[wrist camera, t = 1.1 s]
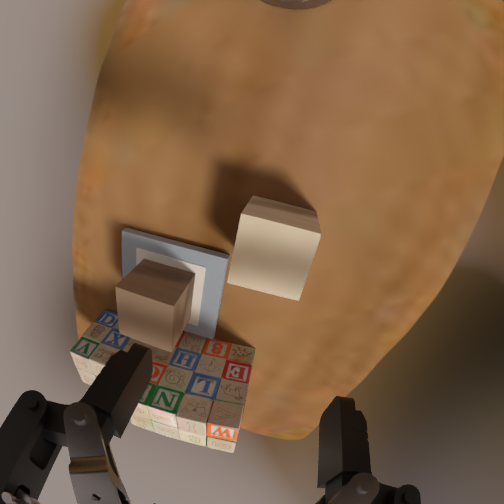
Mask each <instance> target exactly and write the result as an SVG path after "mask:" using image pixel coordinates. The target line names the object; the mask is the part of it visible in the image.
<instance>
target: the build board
mask: <svg viewBox="0 0 504 504" xmlns="http://www.w3.org/2000/svg"><path fill="white" fill-rule="evenodd" d="M229 257H230V255H228V254H225V253H221V252H217V251H213V250H209V249H205V248H202V247H198V246H194V245H190V244H186V243H183V242H179V241H175V240H171V239H167V238H164V237H160V236H156V235H152V234H149V233H145V232H141V231H137V230H134V229H130V228H125V229H124V230H122V279H123V278H124V277H125V276H126V275H127V274H128V273H129V272H131V271H132V270H133V269H134V268H135V267H136V266H137V265H138V264H139V263H140V262H141V261H142V260H143V259H147V260H151V261H154V262H158V263H161V264H164V265H168V266H171V267H175V268H178V269H182V270H185V271H189V272H192V273H195V281H194V289H193V298H192V307H191V316H190V319H189V321H188V323H187V325H186V327H185V328H184V330H183V331H186V332H189V333H193V334H196V335H199V336H203V337H206V338H209V339H213V338H214V336H215V332H216V326H217V321H218V315H219V310H220V304H221V299H222V294H223V288H224V283H225V278H226V272H227V267H228V262H229Z"/></svg>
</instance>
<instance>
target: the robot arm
mask: <svg viewBox="0 0 504 504" xmlns="http://www.w3.org/2000/svg"><path fill="white" fill-rule="evenodd" d="M262 1H264V2H266V3H268V4H271V5H273V6H277V7H282V8H288V9H307V8H313V7H317V6H320V5H323V4H325V3H327V2H329V1H330V0H262ZM152 372H153V364H152V349H151V348H148V347H146V346H143V345H140V344H138V343H134V344H133V345H132V346H131V348H130V349H129V351H128V352H125V351H123V350H120V351H118V352H116V353H115V354H113V355H112V356H111V357H110V358H109V360H108V361H107V363H106V364H105V366H104V367H103V368H102V370H101V371H100V373H99V374H98V376H97V377H96V379H95V380H94V382H93V383H92V385H91V386H90V388H89V389H88V391H87V392H86V394H85V395H84V397H83V398H82V399H81V400H80V401H79V402H75V403H72V404H70V405H64V404H58V403H55V402H51V401H47V400H46V399H45V398H44V396H43V395H42V394H41V393H40V392H38V391H34V390H30V391H26V392H24V393H23V394H22V395H21V396H20V398H19V399H18V401H17V402H16V404H15V405H14V407H13V408H12V410H11V412H10V413H9V415H8V416H7V418H6V420H5V421H4V423H3V424H2V426H1V428H0V504H40V503H39V502H38V497H39V495H40V493H41V491H42V488H43V486H44V484H45V482H46V479H47V477H48V475H49V473H50V471H51V468H52V466H53V464H54V462H55V460H56V458H57V456H58V454H59V452H60V450H61V448H62V446H66V447H68V450H69V455H70V460H71V463H70V464H69V473H70V478H71V482H72V485H73V489H74V493H75V496H76V500H77V503H78V504H131V503H130V500H129V497H128V495H127V492H126V490H125V488H124V485H123V483H122V481H121V479H120V476H119V473H118V470H117V467H116V463H115V460H114V457H113V454H112V450H111V446H110V441H111V439H112V437H113V435H114V436H116V437H118V438H121V436H122V434H123V432H124V430H125V428H126V426H127V424H128V422H129V420H130V419H131V417H132V415H133V413H134V411H135V409H136V407H137V405H138V403H139V401H140V399H141V397H142V395H143V393H144V392H145V390H146V388H147V386H148V384H149V382H150V380H151V377H152ZM318 463H319V464H318V485H317V488H326V489H325V495H323V496H322V497H321V498H320V499H319V500H318V501H317V503H315V504H421V499H420V492H419V490H418V489H417V488H416V487H415V486H413V485H408V484H407V485H403V486H401V487H399V488H395V487H392V486H388V485H384V484H381V483H380V482H378V480H377V478H376V477H375V476H374V475H372V472H371V466H370V454H369V442H368V433H367V423H366V420H365V417H364V415H363V414H362V412H361V411H356V410H355V401H354V399H353V398H347V397H340V396H336V397H335V398H334V399H333V401H332V402H331V403H330V405H329V406H328V407H327V409H326V410H325V411H324V413H323V414H322V416H321V419H320V424H319V462H318Z"/></svg>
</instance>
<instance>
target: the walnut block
mask: <svg viewBox="0 0 504 504" xmlns="http://www.w3.org/2000/svg"><path fill="white" fill-rule="evenodd" d="M194 281H195V273H192V272H189V271H185V270H182V269H178V268H175V267H171V266H168V265H164V264H161V263H158V262H154V261H151V260H147V259H143V260H142V261H141V262H140V263H139V264H138V265H137V266H136V267H135V268H134V269H133V270H132V271H131V272H129V273H128V274H127V275H126V276H125V277H124V278H123V279H122V280H121V281H120V282H119V283H118V284H117V285H116V286H115V290H116V303H117V314H118V324H119V332H120V334H123V335H125V336H128V337H130V338H133V339H135V340H138V341H141V342H143V343H146V344H149V345H151V346H154V347H157V348H160V349H163V350H166V351H168V352H171V353H172V351H173V349H174V347H175V345H176V344H177V342H178V340H179V338H180V336H181V334H182V332H183V330H184V328H185V327H186V325H187V323H188V321H189V319H190V316H191V307H192V298H193V289H194Z"/></svg>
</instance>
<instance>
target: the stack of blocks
mask: <svg viewBox="0 0 504 504" xmlns="http://www.w3.org/2000/svg"><path fill="white" fill-rule="evenodd" d="M134 343H138V344H140V345H143V346H146V347H148V348H151V349H152V364H153V372H152V377H151V380H150V382H149V384H148V386H147V388H146V390H145V392H144V393H143V395H142V397H141V399H140V401H139V403H138V405H137V407H136V409H135V411H134V413H133V415H132V417H131V419H130V420H131V423H132V424H133V425H136V426H139V427H141V428H144V429H147V430H150V431H152V432H156V433H159V434H161V435H164V436H168V437H171V438H175V439H180V440H182V441H186V442H189V443H194V444H197V445H201V446H207V447H209V448H213V449H217V450H221V451H226V452H232V453H233V452H234V448H235V444H236V440H237V435H238V432H239V431H240V426H241V421H242V417H243V412H244V407H245V402H246V396H247V391H248V385H249V380H250V375H251V369H252V363H253V359H254V354H255V348H252V347H247V346H242V345H237V344H233V343H230V342H226V341H221V340H217V339H209V338H206V337H203V336H199V335H196V334H192V333H188V332H182V334H181V336H180V338H179V340H178V342H177V344H176V345H175V347H174V349H173V351H172V353H171V352H168V351H166V350H163V349H160V348H157V347H154V346H151V345H149V344H146V343H143V342H141V341H138V340H135V339H133V338H130V337H128V336H125V335H123V334H120V332H119V324H118V314H117V313H115V312H112V311H109V310H104V311H103V313H102V314H101V315H100V316H99V317H98V318H97V319H96V320H95V321H94V323H92V324H91V326H90V327H89V328H88V329H87V330H86V331H85V332H84V334H83V335H82V337H81V338H80V339H79V341H78V342H77V343H76V344H75V346H74V347H73V348H72V349H71V350H70V353H71V355H72V358H73V360H74V363H75V366H76V367H77V369H78V372H79V374H80V376H81V378H82V381H83V382H84V383H87V384H89V385H92V383H93V382H94V380H95V379H96V377H97V376H98V374H99V373H100V371H101V370H102V368H103V367H104V366H105V364H106V363H107V361H108V360H109V358H110V357H111V356H112V355H113V354H115V353H116V352H118V351H120V350H123V351H125V352H128V351H129V349H130V348H131V346H132V345H133V344H134Z"/></svg>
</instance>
